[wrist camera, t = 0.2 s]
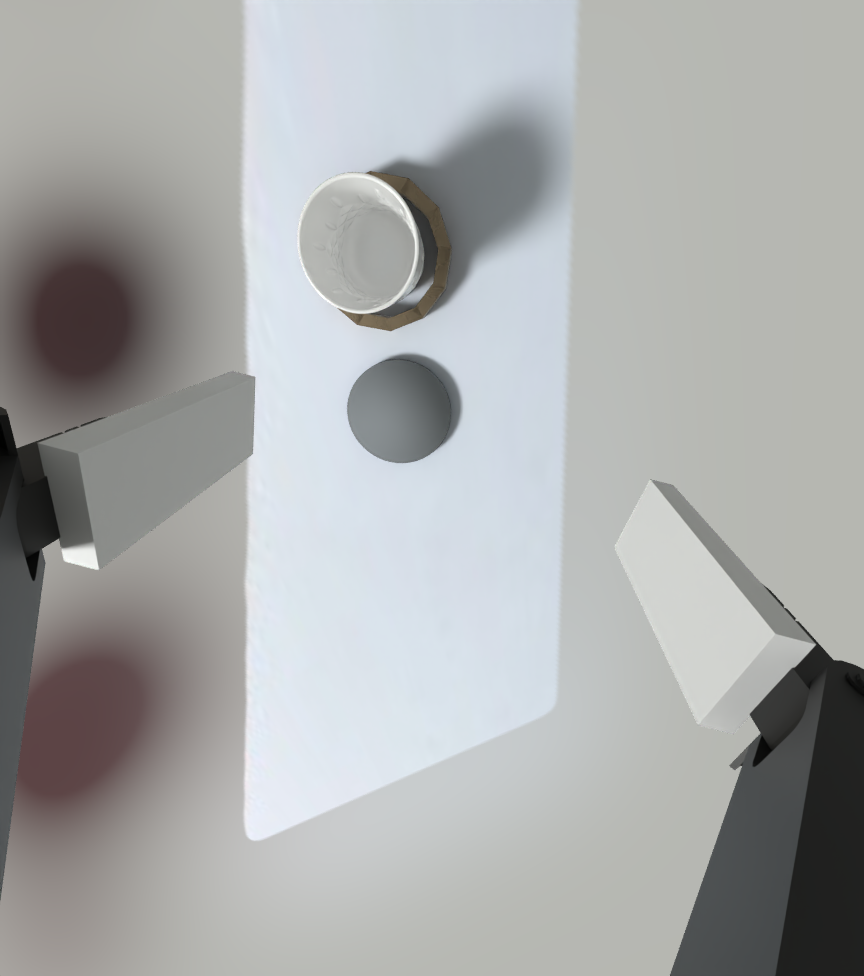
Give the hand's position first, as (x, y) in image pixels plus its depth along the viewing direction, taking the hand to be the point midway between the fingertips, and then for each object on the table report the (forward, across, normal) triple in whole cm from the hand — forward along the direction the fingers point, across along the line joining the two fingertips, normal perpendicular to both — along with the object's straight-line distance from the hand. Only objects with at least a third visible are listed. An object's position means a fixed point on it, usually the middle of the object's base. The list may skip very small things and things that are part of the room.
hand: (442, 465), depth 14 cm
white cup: (+28, -9, +5) cm, 30 cm away
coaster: (+27, -5, -8) cm, 29 cm away
